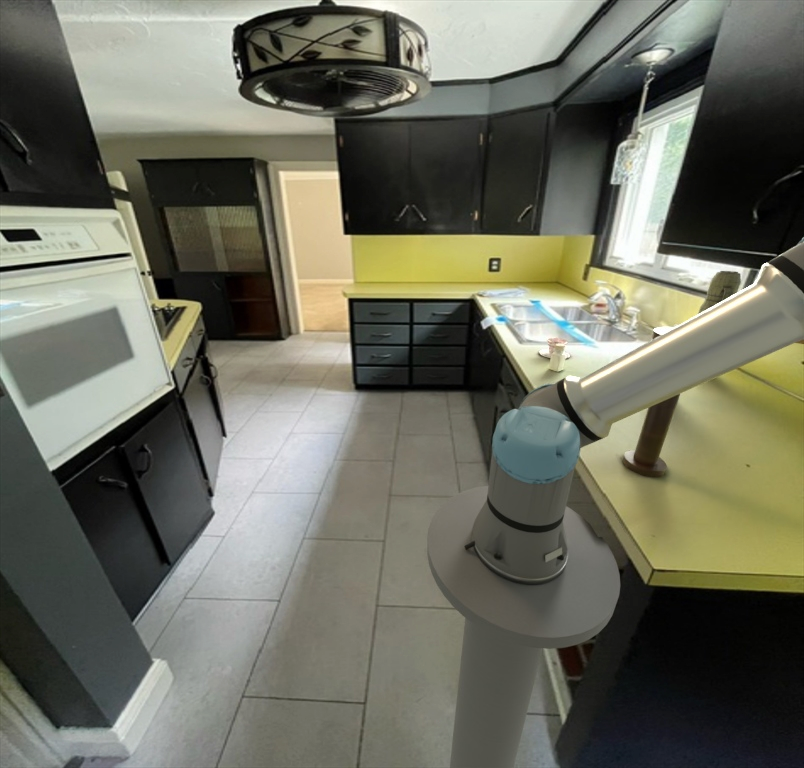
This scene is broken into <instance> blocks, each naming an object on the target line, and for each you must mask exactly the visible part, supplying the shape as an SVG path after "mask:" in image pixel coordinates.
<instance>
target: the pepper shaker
mask: <svg viewBox="0 0 804 768" xmlns="http://www.w3.org/2000/svg"><path fill="white" fill-rule="evenodd" d="M565 348H566V345H563V344H556V345H555V352H553V353H552V354H551V358H549V359H550V360H549V365H548V369H549V370H551V371H554V372H561V371H563V370H564V368H565V363H566V359H567V358H566V354H564V351H565ZM565 358H566V359H565Z"/></svg>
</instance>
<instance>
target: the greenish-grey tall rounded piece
mask: <svg viewBox="0 0 804 768" xmlns="http://www.w3.org/2000/svg"><path fill="white" fill-rule="evenodd" d="M741 282H742V278H741V273H739V271H734V270H720V271H717V272H716V273H715V274H714V276H713V277H712V278H711V280H710V283H709V286H708V288H707V292H706V297H705V298H704V301H703V302H702V304H701V305H700V307H699V310H698V313H697V315H698V314H700V313H702V312H704V311H706V310H707V309H709V308H711V307H713V306H715V305H717V304H718V303H720V302H722V301H724V300H726V299H727V298H729V297H731V296H733V295H735V294H737V293H738V292H739V288H740V285H741Z"/></svg>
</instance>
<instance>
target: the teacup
mask: <svg viewBox="0 0 804 768" xmlns="http://www.w3.org/2000/svg"><path fill="white" fill-rule="evenodd" d="M546 342H547V345H548V348H543V349H541V350H539V351H538V354H539V355H540V356H541V357H545V358H548V359H551V354H552V353H553V352H555V345H556V344H563V345H565V346H566V345H567V344H568V343H569V341H568V340H566V339H564V338H561V337H548V338H546ZM564 354H566V358H565V360H566V359H569V358H570V357H571V354H570V352H567V351H565V350H564Z"/></svg>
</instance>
